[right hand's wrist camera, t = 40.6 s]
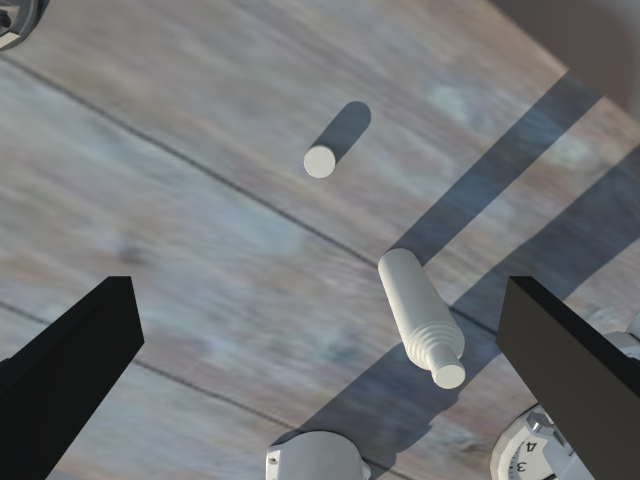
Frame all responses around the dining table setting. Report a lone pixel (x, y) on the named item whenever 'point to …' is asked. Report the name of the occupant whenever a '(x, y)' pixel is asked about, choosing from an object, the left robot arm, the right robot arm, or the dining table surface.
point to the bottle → (422, 318)
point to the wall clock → (521, 453)
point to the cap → (319, 161)
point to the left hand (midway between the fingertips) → (554, 386)
